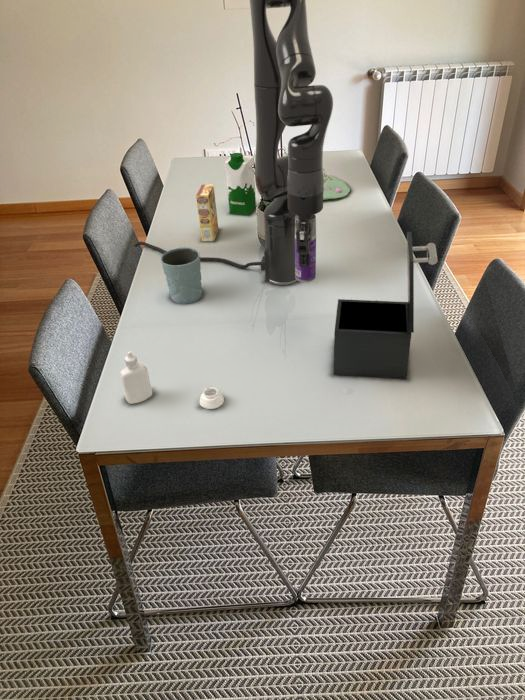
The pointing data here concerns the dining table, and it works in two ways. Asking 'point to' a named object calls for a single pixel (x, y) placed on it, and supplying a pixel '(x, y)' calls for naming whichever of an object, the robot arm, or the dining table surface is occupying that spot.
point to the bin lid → (410, 272)
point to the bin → (372, 339)
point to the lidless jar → (211, 398)
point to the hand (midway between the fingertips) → (305, 260)
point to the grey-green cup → (183, 274)
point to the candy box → (207, 212)
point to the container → (309, 272)
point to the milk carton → (240, 184)
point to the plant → (334, 187)
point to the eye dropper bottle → (135, 380)
